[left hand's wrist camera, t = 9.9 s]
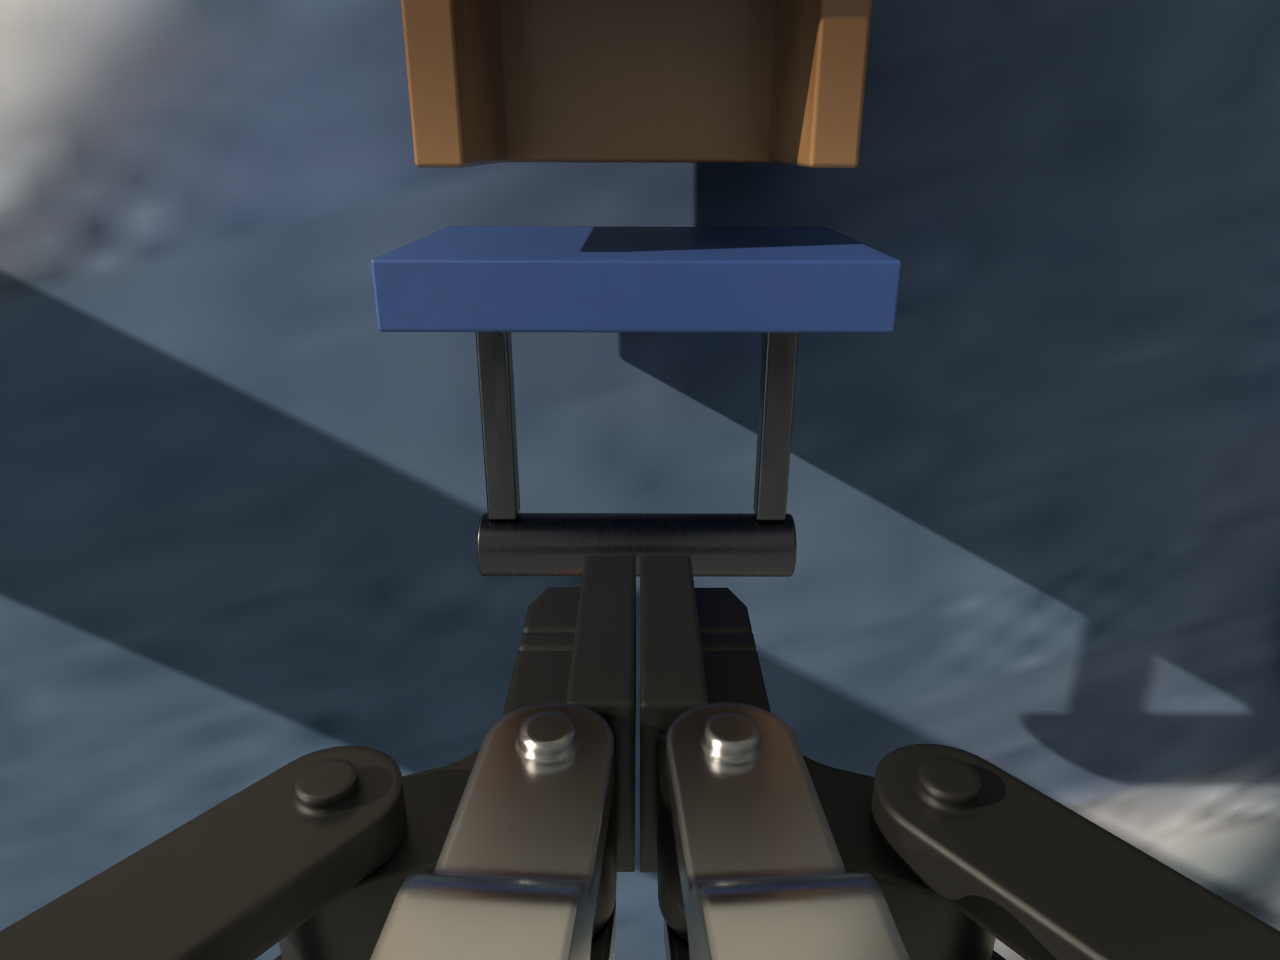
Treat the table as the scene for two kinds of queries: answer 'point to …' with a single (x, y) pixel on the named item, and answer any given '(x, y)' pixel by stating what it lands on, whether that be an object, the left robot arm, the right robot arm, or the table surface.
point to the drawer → (636, 256)
